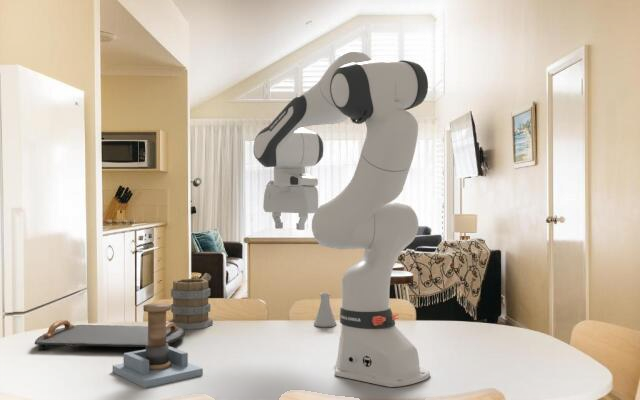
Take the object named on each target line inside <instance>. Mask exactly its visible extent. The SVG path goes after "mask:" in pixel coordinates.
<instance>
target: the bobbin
mask: <svg viewBox="0 0 640 400" xmlns="http://www.w3.org/2000/svg"><path fill="white" fill-rule="evenodd" d="M169 311H171V303H167V302H165V303H164V302H154V303H152V302H151V303H147V304H144V305H143V312H146V313H147V326H148V344H147V345H146V347H145V349H146V359H147V360H149V370H151V371H157V370H164V369H168V368H170V367H171V361H170V360H169V346H170V345H169V344H170V343H169V344H168V343H166V323H167V312H169Z"/></svg>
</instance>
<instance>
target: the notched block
mask: <svg viewBox="0 0 640 400" xmlns="http://www.w3.org/2000/svg"><path fill="white" fill-rule="evenodd" d="M188 354H189V353H188V352H186V351H183V350H181V349H178V348H176V347H173V346H170V345H169V360H170V361H171V367H170V368H168V369H164V370H157V371H151V370H149V360H147V359H146V348H145V349H141V350H140V349H139V350H134V351H128V352H124V353H123V363H119V364H113V365H112V373H114V374H115V375H118V376H120V377H122V378H124V379H126V380H127V381H130V382H131V383H134V384H135V385H138V386H140V387H142V388H144V389H147V388H152V387H156V386H160V385H165V384H168V383H170V384H171V383H174V382H177V381H178V382H179V381H182V380H187V379H191V378H192V379H193V378H195V377H199V376H200V377H201V376H203V375H204V373H203V371H204V369H203V368H202V367H199V366H198V365H195V364H193V363H190V362H188V361H189V355H188Z"/></svg>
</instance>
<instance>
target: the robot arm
mask: <svg viewBox="0 0 640 400" xmlns="http://www.w3.org/2000/svg"><path fill="white" fill-rule="evenodd" d="M428 90H429V82H428V76H427V73H426V71H425V69H424V67H422V66H421V65H420V64H419V63H416V62H414V61H410V60H403V59H402V60H380V59H378V60H372V58H371V57H370V56H368V54H366V53H364V52H363V51H360V50H353V49H352V50H348V51H344V52H343V53H342V54H340V55H339V56H338V57H337V58H336V59H335V60H334V61H333V62H332V63H331V64H330V66H329V67H328V68H327V69H326V71H325V72H324V74H322V77H320V79H319V81H318V82H317V83H316V84H314V85H313V86H312V87H311V88H309V89H308V90H307V91H305V92H303V93H301V94H300V95H297V96H295V97H294V98H292V100H291V101H289V102H288V103H287V104H286V106H285V107H284V108H283V109H282V110H281V111H280V113H279V114H278V115H277V116H276V117H275V118H274V119H273V120H272V121H271V122H270V124H268V126H266V127H264V128H263V129H261V130H260V132H258V133H257V135H256V136H255V138H254V142H253V155H254V157H255V159H256V161H258V162H259V163H260V164H261V165H262V166H263V167H264V168H273V179H272V180H269V181H268V183H267V184H266V186H265V187H266V188H265V189H264V195H263V207H262V208H263V210H264V212H265V213H271V217H272V219H273V221H274V228H275V229H276V230H277V229H279V230H280V229H283V228H284V222H282V220H281V216H282V213H283V214H284V213H285V214H287V213H288V214H298V218H299V220H298V222H297V223H296V224H295V227H296V230H297V231H304V230H305V227H306V226H305V225H306V222H307V219H308V218H309V217H308V216H309V215H308V214H313V215H312V220H311V231H312V236H313V238H314V239H315V241H316V242H317V243H318V245H320V246H322V247H325V248H330V249H335V250H362V249H364V253H363V256H362V257H361V259H360V260H359V261H358V262H357V263H355V264H354V265H351V266H349V268H348V269H346V270H345V272H344V274H343V276H342V279H341V307H340V309H339V322H340V324H341V328H340V329H341V330H340V335H339V342H338V343H339V344H338V351H337V358H336V361H335V366H334V375H335V376H336V377H341V378H346V379H350V380H355V381H359V382H360V381H361V382H365V383H371V384H374V385H378V386H384V387H387V388H388V387H389V388H393V387H394V388H395V387H397V388H398V387H404V386H409V385H413V384H417V383H419V382H423V381H425V380H427V379H428V378H429V377H430V375H431V373H430V372H431V371H430V370H429V369H427V368H423V367H421V366H420V358H419V352H418V349H417V347H416V346H415V345H414V344H413V343H412V342H411V341H410V340H409V339H408V338H407V337H406V336H405V334H403V332H401V331H400V330H399V328H398V327H397V325H396V321H395V320H398V319H399V313H394V314H393V312H392V309H391V307H390V287H391V277H392V273H393V269H394V266H395V265H396V261H397V260H398V258H399V256H400V255H401V254H402V252H403V251H404V250H405V249H406V248H407V247H408V246H409V245H411V243H413V242H414V240H415V238H416V237H417V234H418V232H419V218H418V216H417V214H416V212H415V211H414V210H415V209H413V208H412V206H410V205H408V204H403V203H400V202H395V200H396V199H397V198H398V197H399V196H400V195H401V193H402V192H403V190H404V188H405V187H404V186H405V184H406V181H407V178H408V174H409V173H410V169H411V166H412V163H413V159H414V156H415V152H416V146H417V141H418V133H419V132H418V131H419V124H418V121H417V119H416V117H415V116H414V115H413V114H412V113H410V112H409V111H408V110H411V109H414V108H415V107H418V106H419V105H421V104H422V103H423V102H424V101H425V99H426V97H427V94H428ZM348 119H350V121H351V123H354V124H356V125H361V124H364V123H365V125H366V135H365V139H364V140H363V141H364V142H363V145H362V148H361V152H360V156H359V158H358V162H357V165H356V167H355V170H354V173H353V176H352V178H351V179H350V181H349V183H348V184H347V185H346V186H345V188H344V189H343V190H342V191H341V192H339V194H338V195H336V196H335V197H334V198H332V199H331V200H329V201H328V202H326V203H324V204H322V205H320V206H319V191H318V188H317V186H318V185H319V182H318V181H319V180H318V178H317V177H315V176H313V175H310V174H308V173H307V172H306V167H307V168H309V167H313V166H316V165H317V164H318V163H319V162H320V161H321V160H322V158H323V156H324V142H323V139H322V137H321V136H320V135H319V134H318V133H317V132H315V131H311V130H309V129H307V128H305V127H311V126H321V125H333V124H339V123H342V122H345V121H346V120H348Z"/></svg>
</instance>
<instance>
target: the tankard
mask: <svg viewBox="0 0 640 400" xmlns="http://www.w3.org/2000/svg"><path fill="white" fill-rule="evenodd" d="M211 279H212V276H211V275H210V273H207V272H205V273H204V274H203V275H202V276H201V278H185V279H184V278H181V279H176V280H173V281H172V288H171V289H170V296H171V298H172V304H171V303H170V304H171V310H170V312H171V313H172V318H171V319H168V322H174V323H175V325H176V327H182V328H184V330H186V331H191V330H200V329H205V328H206V329H207V328H208V327H211V326H213V324H214V322H213V321H214V320H213V319H212V318H211V317H209V312H211V304H210V303H209V298H210V296H211V288H210V287H209V281H211Z"/></svg>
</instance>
